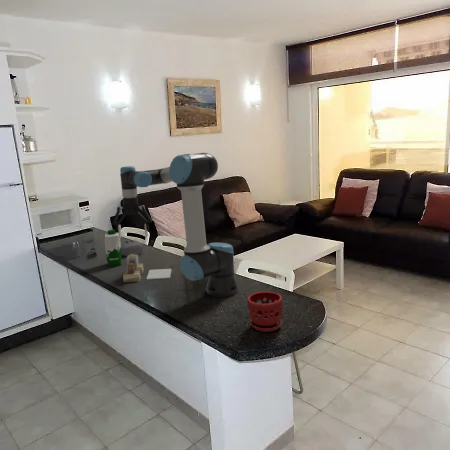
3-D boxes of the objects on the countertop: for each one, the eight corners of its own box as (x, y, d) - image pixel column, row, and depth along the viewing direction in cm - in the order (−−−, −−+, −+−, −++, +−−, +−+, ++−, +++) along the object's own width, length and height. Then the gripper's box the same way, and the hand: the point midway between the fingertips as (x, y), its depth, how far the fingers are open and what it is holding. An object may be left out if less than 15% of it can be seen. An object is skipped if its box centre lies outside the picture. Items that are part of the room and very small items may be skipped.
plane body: (139, 281, 209) (137, 264, 207) (123, 282, 209) (122, 265, 207) (143, 270, 226) (142, 254, 224) (128, 271, 225) (127, 255, 223)
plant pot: (281, 318, 162) (280, 290, 159) (284, 334, 149) (283, 303, 146) (248, 318, 162) (247, 290, 160) (248, 334, 150) (247, 304, 147)
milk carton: (122, 261, 244) (119, 228, 240) (122, 265, 236) (119, 232, 231) (107, 262, 242) (103, 230, 238) (107, 267, 233) (103, 233, 229)
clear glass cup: (137, 270, 214) (136, 256, 212) (127, 271, 213) (126, 256, 212) (138, 266, 219) (137, 253, 218) (129, 267, 219) (128, 253, 217)
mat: (169, 278, 212) (169, 277, 212) (146, 279, 211) (146, 278, 211) (171, 269, 225) (171, 268, 225) (149, 270, 225) (149, 269, 224)
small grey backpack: (146, 254, 257) (135, 247, 274) (145, 241, 256) (134, 235, 272) (123, 258, 250) (113, 251, 266) (121, 245, 248) (111, 239, 264)
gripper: (155, 194, 213) (158, 233, 218) (107, 196, 212) (111, 236, 217) (153, 196, 206) (156, 237, 211) (103, 199, 205) (107, 239, 210)
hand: (133, 236), depth 214 cm, fingers open, 13 cm apart
